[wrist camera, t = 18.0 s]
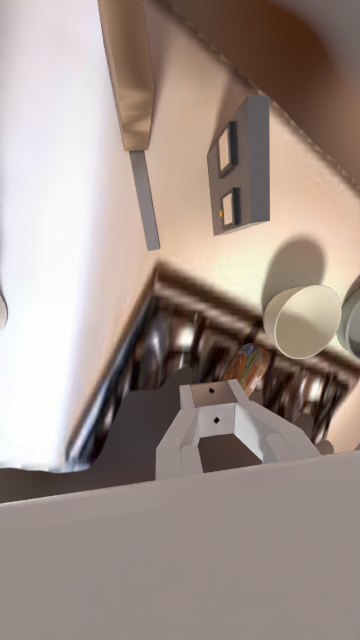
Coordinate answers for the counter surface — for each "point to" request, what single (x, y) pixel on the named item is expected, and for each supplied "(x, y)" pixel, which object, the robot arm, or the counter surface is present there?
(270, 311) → the bowl
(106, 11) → the brown flat angular block
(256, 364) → the tin
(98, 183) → the counter surface
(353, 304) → the cake pan
